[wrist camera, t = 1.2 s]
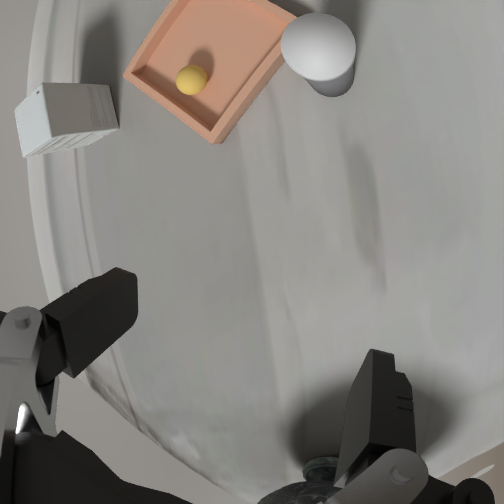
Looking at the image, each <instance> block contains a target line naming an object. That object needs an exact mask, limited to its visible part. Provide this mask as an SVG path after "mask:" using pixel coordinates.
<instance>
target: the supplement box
mask: <svg viewBox="0 0 504 504" xmlns="http://www.w3.org/2000/svg"><path fill="white" fill-rule="evenodd" d="M15 116H16V123H17V129H18V134H19V140H20V145H21V150H22V155H23V158H26V157H30V156H35V155H40V154H45V153H49V152H54V151H60V150H66V149H72V148H79V147H85V146H88V145H90V144H91V143H93V142H95V141H97V140H99V139H100V138H102V137H104V136H106V135H108V134H110V133H112V132H114V131H116V130H118V129H119V126H118V122H117V118H116V114H115V109H114V105H113V101H112V96H111V92H110V87H109V85H98V84H79V83H42V84H40V85H39V86H38V87H37V88H36V89H35V90H34V91H33V92H32V93H31V94H30V95H29V96H28V97H27V98H26V99H25V100H23V101H22V103H20V104H19V106H17V107H16V109H15Z"/></svg>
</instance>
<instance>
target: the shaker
mask: <svg viewBox="0 0 504 504" xmlns="http://www.w3.org/2000/svg"><path fill="white" fill-rule="evenodd" d="M281 51H282V55H283V57H284V59H285V61H286V62H287V64H288V65H289V66H290V67H291V68H292V69H293V70H294V71H295V72H296V73H297V74H299V75H300V76H302V77H304V78H305V79H306V81H307V82H308V83H309V84H310V85H311V86H312V87H313V89H314V90H315V91H317V92H318V93H320V94H322V95H324V96H328V97H336V96H340V95H343V94H344V93H346V92H347V91H348V90H349V89H350V88H351V86H352V84H353V80H354V60H355V55H356V44H355V39H354V36H353V34H352V32H351V30H350V29H349V27H348V26H347V25H346V24H345V23H344V22H343V21H341V20H340V19H338V18H336V17H334V16H332V15H329V14H325V13H309V14H305V15H302V16H300V17H298V18H296V19H294V20H293V21H292V22H291V23H290V24H289V25H288V26H287V27H286V28H285V30H284V32H283V34H282V38H281Z"/></svg>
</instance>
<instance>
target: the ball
mask: <svg viewBox="0 0 504 504" xmlns="http://www.w3.org/2000/svg"><path fill="white" fill-rule="evenodd" d="M207 80H208V78H207V74H206V72H205V71H204V70H203V69H202V68H201V67H199V66H196V65H188V66H185V67H184V68H182V69H181V70H180V71H179V72H178V74H177V76H176V85H177V88H178V89H179V90H180V91H181V92H182V93H184V94H187V95H194V94H198V93H200V92H201V91H202V90H203V89H204V88H205V87H206V85H207Z"/></svg>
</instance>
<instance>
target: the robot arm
mask: <svg viewBox="0 0 504 504" xmlns="http://www.w3.org/2000/svg"><path fill="white" fill-rule="evenodd" d="M137 316H138V286H137V276H136V275H135V274H134V273H131V272H129V271H126V270H123V269H121V268H118V267H116V268H113V269H111V270H110V271H108V272H107V273H105V274H103V275H102V276H98V277H95V278H92V279H88V280H87V281H85V282H83V283H82V284H80V285H78V287H77V288H76V287H75V288H74V289H72V290H70V292H69V293H68V292H67V293H66V294H64V295H62V296H61V297H59V298H58V299H56V300H55V301H53V302H51V303H50V304H48V305H47V306H45V307H44V308H42V309H41V310H38V309H36V308H33V307H27V306H26V307H18V308H16V309H13V310H11V311H10V312H8V313H5V312H2V311H0V504H192V503H190V502H188V501H185V500H183V499H181V498H179V497H176V496H174V495H172V494H170V493H166V492H162V491H158V490H154V489H150V488H146V487H142V486H138V485H135V484H132V483H128V482H125V481H123V480H121V479H120V478H119V477H118V476H117V475H116V474H115V473H114V472H113V471H112V470H111V469H110V468H109V467H108V466H107V465H106V464H105V463H103V462H102V460H101V459H100V458H99V457H98V456H97V455H96V454H95V453H94V452H93V451H92V450H90V449H89V448H87V447H86V446H84V445H83V444H81V443H80V442H78V441H77V440H75V439H74V438H72V437H71V436H70V435H68V434H67V433H66V432H64V431H63V430H62V431H61V432H60V433H59V434H58V435H57V432H56V425H55V419H56V407H57V398H58V389H59V376H58V374H60V373H61V372H62V371H63V372H65V373H66V374H68V375H69V376H71V377H72V378H75V377H76V376H77V375H79V374H80V373H81V372H82V371H83V370H84V369H85V368H86V367H87V366H88V365H90V364H91V363H92V362H93V361H94V360H95V359H96V358H97V357H98V356H100V355H101V354H102V353H103V352H104V351H105V350H106V349H107V348H108V347H110V346H111V345H112V344H113V343H114V342H115V341H116V340H117V339H119V338H120V337H121V336H122V335H123V334H124V333H125V332H126V331H128V330H129V329H130V328H131V327H132V326H133V325H134V323H135V321H136V319H137ZM412 400H413V396H412V386H411V384H410V383H409V381H408V379H407V377H406V375H405V374H404V373H400V372H396V371H395V359H394V354H391V353H387V352H383V351H379V350H375V349H370V350H369V351H368V353H367V355H366V358H365V360H364V362H363V364H362V366H361V368H360V370H359V372H358V374H357V376H356V378H355V380H354V382H353V385H352V387H351V390H350V393H349V396H348V401H347V407H346V415H345V422H344V428H343V435H342V441H341V447H340V453H339V459H338V464H337V469H336V475H335V480H334V485H333V486H335V487H340V488H342V489H341V490H340V491H338V492H337V493H336V494H334V495H333V496H332V497H330V498H329V499H327V500H326V501H321V502H319V503H317V504H495V501H494V495H493V492H492V490H491V489H490V487H489V486H488V485H487V484H486V483H485V482H484V481H482V480H480V479H476V478H469V479H465V480H463V481H462V482H460V483H459V484H458V485H457V486H453V485H450V484H448V483H445V482H443V481H440V480H438V479H436V478H434V477H432V476H430V475H429V473H428V468H427V465H426V464H425V462H424V460H423V459H422V458H421V457H420V456H419V455H417V454H416V439H415V421H414V413H413V410H414V408H413V402H412Z"/></svg>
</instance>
